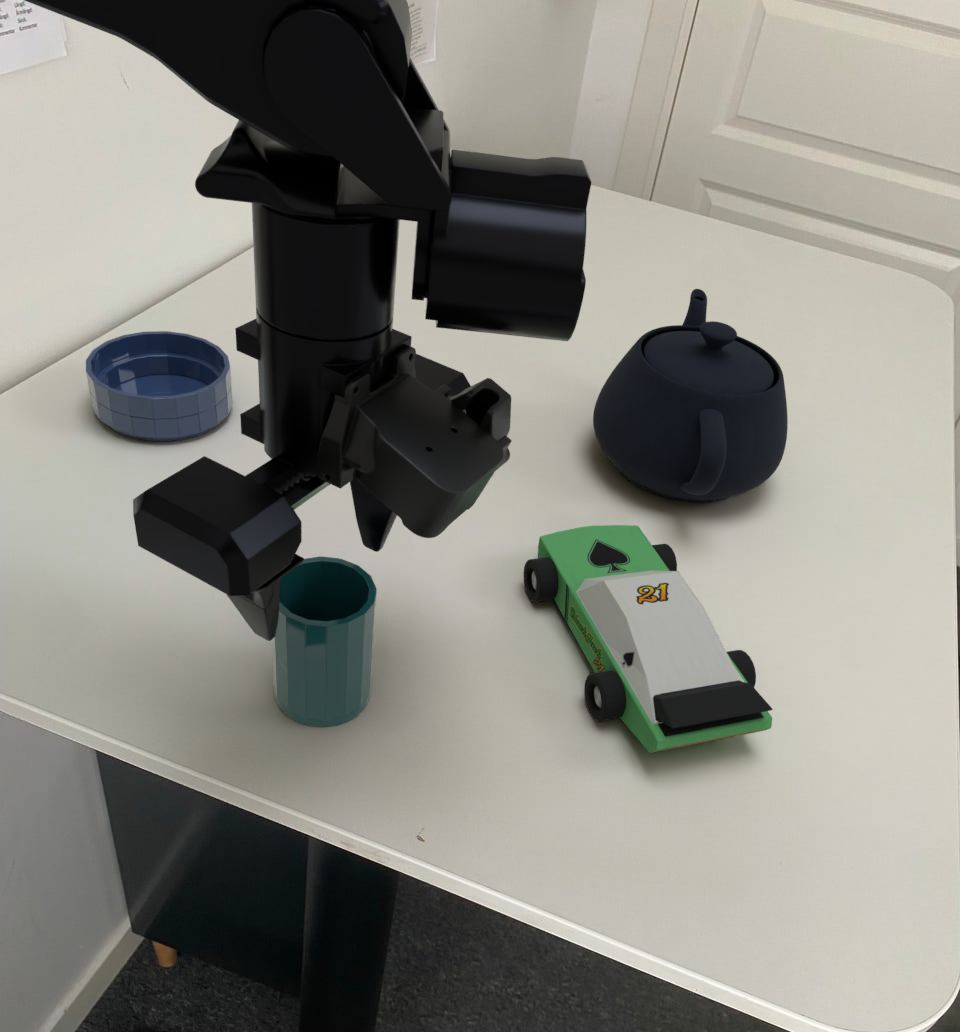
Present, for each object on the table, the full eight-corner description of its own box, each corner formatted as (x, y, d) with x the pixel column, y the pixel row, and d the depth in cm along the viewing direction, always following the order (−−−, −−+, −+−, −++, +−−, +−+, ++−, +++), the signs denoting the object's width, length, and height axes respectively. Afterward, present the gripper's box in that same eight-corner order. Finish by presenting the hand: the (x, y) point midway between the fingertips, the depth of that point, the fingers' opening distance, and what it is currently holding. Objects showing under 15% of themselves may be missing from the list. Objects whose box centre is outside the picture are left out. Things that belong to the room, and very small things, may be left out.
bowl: (75, 436, 71) (65, 388, 69) (117, 369, 79) (110, 324, 76) (216, 452, 72) (212, 406, 69) (244, 384, 80) (241, 340, 77)
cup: (266, 722, 54) (260, 619, 48) (283, 653, 58) (280, 551, 52) (364, 731, 54) (370, 630, 48) (374, 662, 58) (380, 562, 52)
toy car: (642, 551, 70) (659, 495, 66) (777, 749, 57) (807, 693, 53) (511, 566, 66) (522, 509, 63) (624, 780, 54) (646, 723, 50)
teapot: (786, 566, 70) (850, 423, 62) (581, 533, 70) (617, 385, 62) (751, 401, 88) (796, 273, 80) (588, 375, 88) (617, 244, 80)
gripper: (344, 479, 31) (335, 772, 42) (591, 304, 43) (534, 565, 54) (98, 362, 34) (148, 661, 45) (392, 230, 47) (376, 490, 57)
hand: (321, 589), depth 50 cm, fingers open, 9 cm apart
